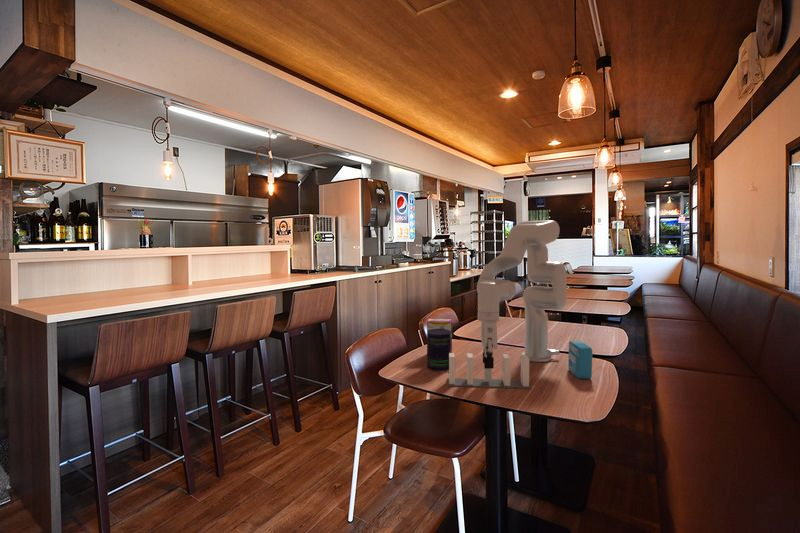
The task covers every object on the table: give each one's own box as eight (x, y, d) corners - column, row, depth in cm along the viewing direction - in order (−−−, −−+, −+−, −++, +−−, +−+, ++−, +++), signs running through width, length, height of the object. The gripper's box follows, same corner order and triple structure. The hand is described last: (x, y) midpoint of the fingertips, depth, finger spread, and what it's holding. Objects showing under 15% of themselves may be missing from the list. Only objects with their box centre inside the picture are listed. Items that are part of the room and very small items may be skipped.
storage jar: (447, 372, 160) (447, 335, 159) (423, 369, 163) (423, 333, 162) (453, 364, 169) (453, 329, 168) (430, 362, 173) (430, 328, 171)
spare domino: (489, 376, 150) (490, 349, 149) (491, 380, 145) (491, 353, 144) (484, 375, 150) (484, 349, 149) (485, 380, 145) (485, 353, 144)
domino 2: (472, 379, 150) (472, 353, 150) (473, 384, 145) (473, 357, 145) (466, 379, 151) (466, 353, 150) (467, 384, 146) (467, 357, 145)
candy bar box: (426, 357, 180) (426, 320, 179) (427, 354, 185) (427, 318, 184) (452, 357, 179) (452, 321, 178) (451, 354, 184) (451, 318, 183)
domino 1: (454, 379, 151) (454, 353, 150) (454, 384, 146) (454, 357, 145) (449, 379, 151) (449, 352, 151) (449, 384, 146) (449, 356, 146)
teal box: (568, 369, 162) (568, 339, 161) (579, 369, 162) (580, 339, 161) (579, 380, 150) (580, 348, 149) (591, 380, 150) (592, 348, 149)
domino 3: (508, 380, 149) (508, 354, 148) (510, 385, 144) (510, 358, 143) (502, 380, 149) (502, 354, 148) (504, 385, 144) (504, 358, 143)
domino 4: (526, 381, 148) (526, 354, 147) (528, 386, 143) (529, 358, 142) (520, 381, 148) (520, 354, 148) (523, 386, 143) (523, 358, 143)
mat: (527, 381, 149) (527, 380, 149) (531, 388, 142) (531, 387, 142) (446, 379, 153) (446, 378, 153) (447, 386, 145) (447, 385, 145)
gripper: (502, 321, 137) (501, 373, 138) (496, 311, 153) (495, 358, 155) (479, 320, 137) (479, 373, 139) (476, 311, 154) (475, 358, 156)
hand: (488, 365), depth 147 cm, fingers closed on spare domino, 4 cm apart
